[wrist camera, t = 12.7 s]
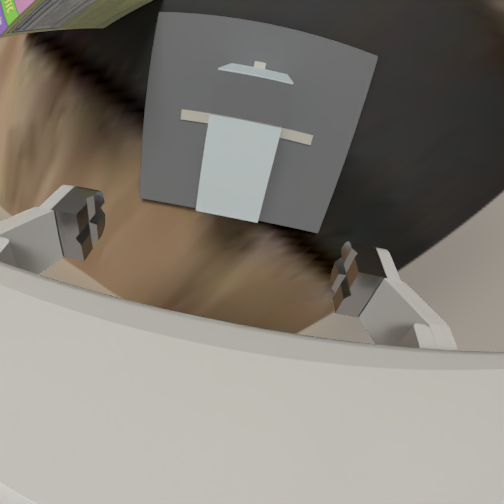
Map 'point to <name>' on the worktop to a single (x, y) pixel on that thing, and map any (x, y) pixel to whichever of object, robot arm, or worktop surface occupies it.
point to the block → (242, 140)
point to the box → (61, 14)
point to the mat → (296, 121)
